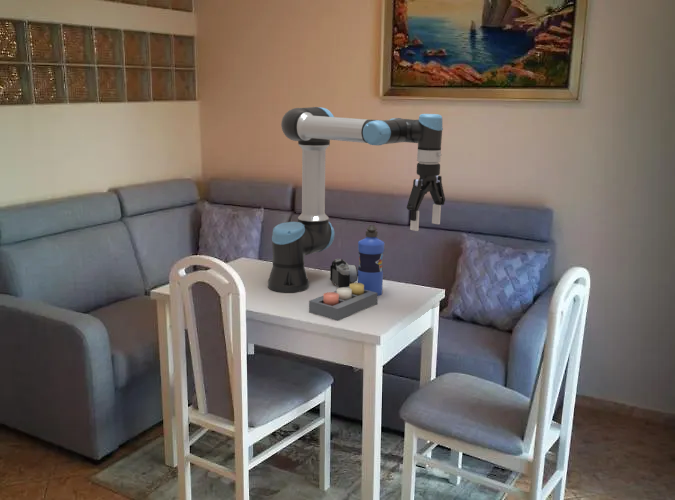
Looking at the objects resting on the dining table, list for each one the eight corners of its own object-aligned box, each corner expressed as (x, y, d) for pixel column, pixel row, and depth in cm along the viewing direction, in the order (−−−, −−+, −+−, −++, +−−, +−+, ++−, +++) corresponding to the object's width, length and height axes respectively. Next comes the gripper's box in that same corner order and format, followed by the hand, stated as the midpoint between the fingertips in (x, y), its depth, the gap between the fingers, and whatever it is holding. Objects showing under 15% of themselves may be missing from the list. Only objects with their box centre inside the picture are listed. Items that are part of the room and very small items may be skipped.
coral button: (320, 304, 220) (320, 294, 219) (329, 300, 224) (330, 291, 223) (332, 307, 217) (332, 298, 216) (341, 303, 221) (341, 294, 220)
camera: (362, 290, 246) (362, 264, 244) (338, 291, 244) (339, 265, 241) (349, 278, 261) (350, 253, 258) (327, 279, 258) (327, 254, 256)
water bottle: (353, 295, 240) (355, 227, 234) (360, 287, 249) (362, 222, 242) (379, 298, 237) (381, 229, 231) (385, 290, 246) (387, 224, 240)
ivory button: (333, 298, 225) (333, 289, 225) (342, 295, 229) (343, 286, 228) (345, 302, 222) (345, 292, 222) (354, 298, 226) (354, 289, 225)
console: (309, 312, 222) (309, 300, 221) (349, 296, 239) (349, 285, 238) (337, 320, 215) (337, 308, 214) (377, 303, 231) (377, 292, 230)
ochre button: (346, 294, 231) (346, 285, 230) (355, 290, 235) (355, 281, 234) (358, 297, 228) (358, 288, 227) (366, 293, 232) (367, 284, 231)
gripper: (418, 167, 205) (414, 234, 210) (457, 160, 224) (453, 222, 229) (397, 165, 210) (394, 231, 215) (438, 158, 228) (434, 219, 234)
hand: (425, 227), depth 222 cm, fingers open, 13 cm apart
